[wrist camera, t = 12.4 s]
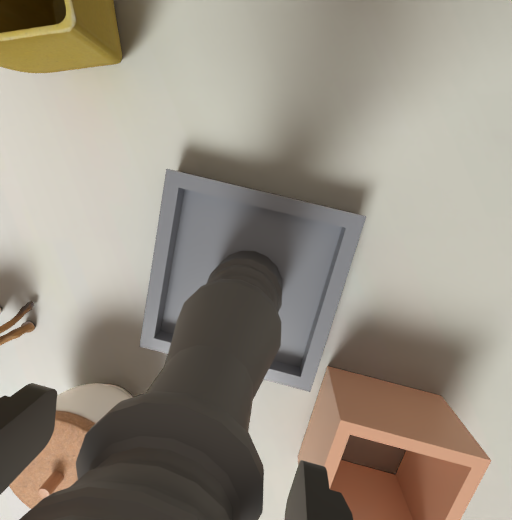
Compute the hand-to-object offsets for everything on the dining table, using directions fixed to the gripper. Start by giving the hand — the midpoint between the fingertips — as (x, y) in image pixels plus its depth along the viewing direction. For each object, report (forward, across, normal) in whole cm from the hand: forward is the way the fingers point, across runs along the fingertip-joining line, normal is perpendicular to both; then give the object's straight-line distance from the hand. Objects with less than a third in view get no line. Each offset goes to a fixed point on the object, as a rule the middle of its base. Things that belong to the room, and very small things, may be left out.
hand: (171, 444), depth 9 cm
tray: (+19, 0, 0) cm, 19 cm away
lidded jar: (+19, +11, +18) cm, 28 cm away
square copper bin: (+19, -15, +12) cm, 27 cm away
